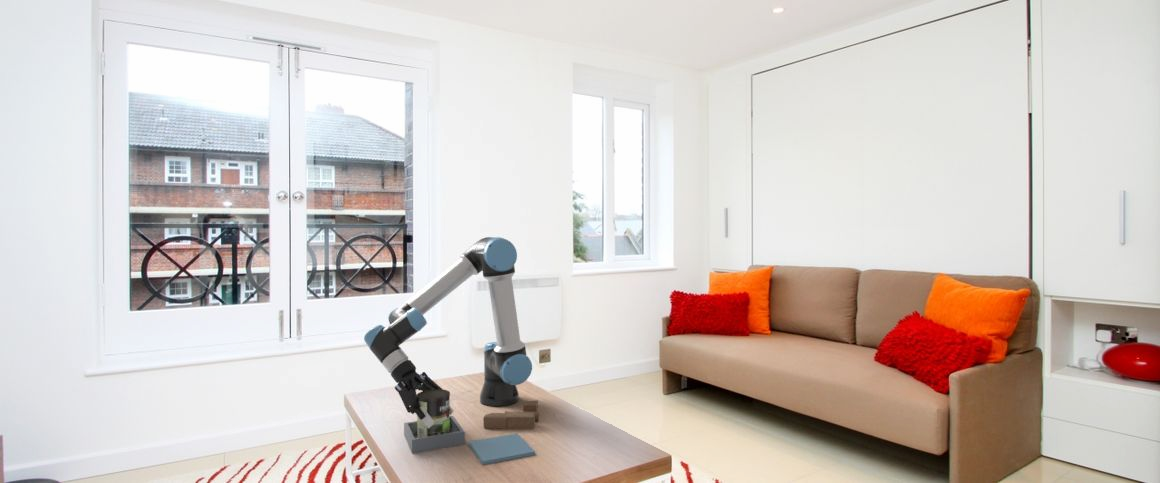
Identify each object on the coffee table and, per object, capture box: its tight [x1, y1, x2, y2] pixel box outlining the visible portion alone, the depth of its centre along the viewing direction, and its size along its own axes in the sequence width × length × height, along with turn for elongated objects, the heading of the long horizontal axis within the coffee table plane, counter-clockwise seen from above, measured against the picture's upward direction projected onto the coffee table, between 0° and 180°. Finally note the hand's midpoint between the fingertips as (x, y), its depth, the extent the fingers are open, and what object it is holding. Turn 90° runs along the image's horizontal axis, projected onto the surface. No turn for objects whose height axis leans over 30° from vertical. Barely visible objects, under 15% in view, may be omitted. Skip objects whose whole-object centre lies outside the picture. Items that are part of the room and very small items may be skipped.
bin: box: [403, 415, 466, 454], centre depth 174 cm, size 16×16×4 cm
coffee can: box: [416, 388, 451, 438], centre depth 174 cm, size 10×10×14 cm
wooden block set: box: [483, 400, 540, 430], centre depth 192 cm, size 17×6×18 cm
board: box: [468, 432, 536, 466], centre depth 166 cm, size 16×16×1 cm
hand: (441, 419), depth 173 cm, fingers closed on coffee can, 10 cm apart
